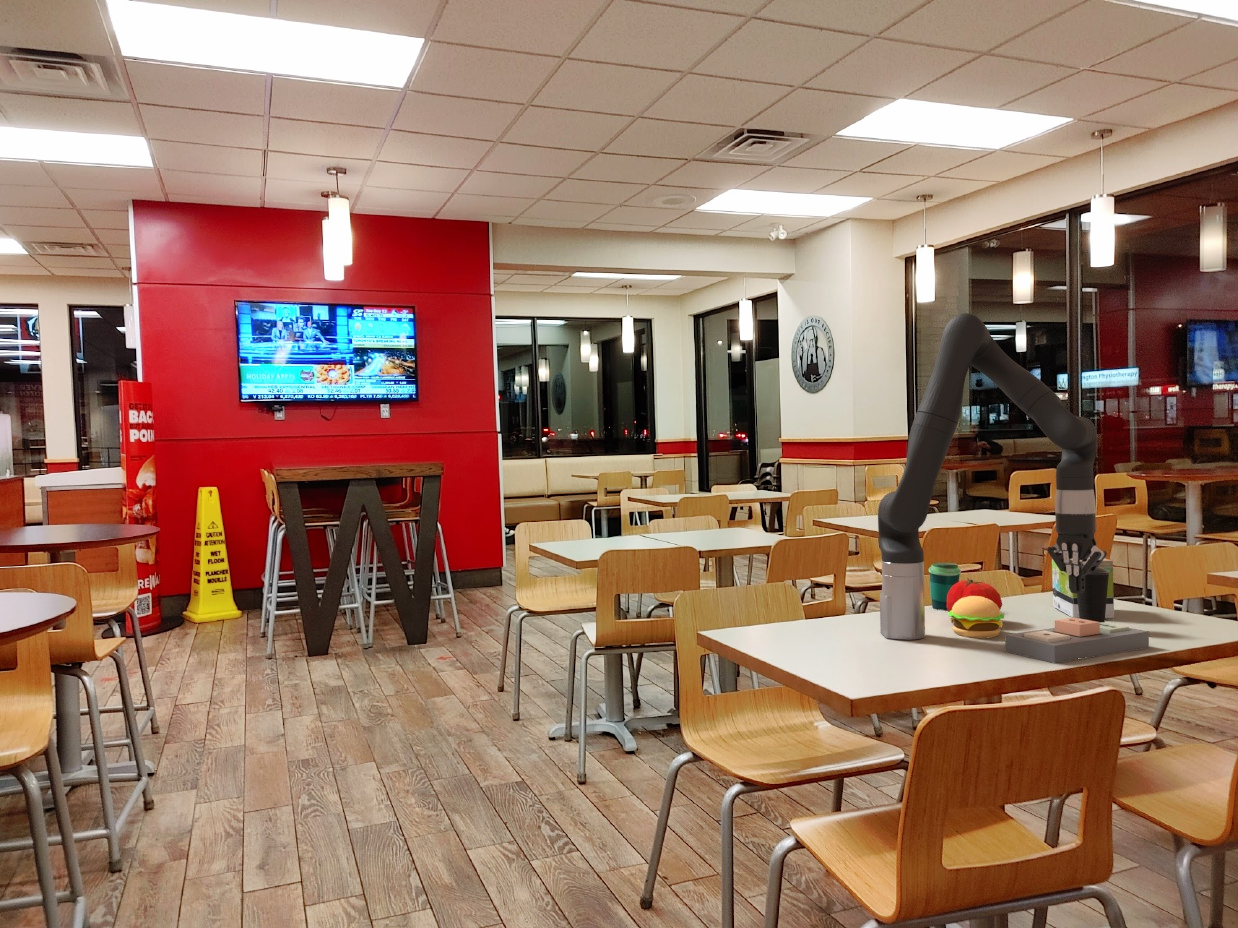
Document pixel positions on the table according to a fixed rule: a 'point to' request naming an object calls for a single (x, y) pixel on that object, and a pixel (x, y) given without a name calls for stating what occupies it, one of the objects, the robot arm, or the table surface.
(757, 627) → the table surface
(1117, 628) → the sage tile
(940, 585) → the cup
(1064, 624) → the terracotta tile
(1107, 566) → the tea box
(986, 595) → the tomato
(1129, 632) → the console
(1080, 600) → the drinking cup
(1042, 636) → the cream tile
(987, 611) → the hamburger
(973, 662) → the table surface
